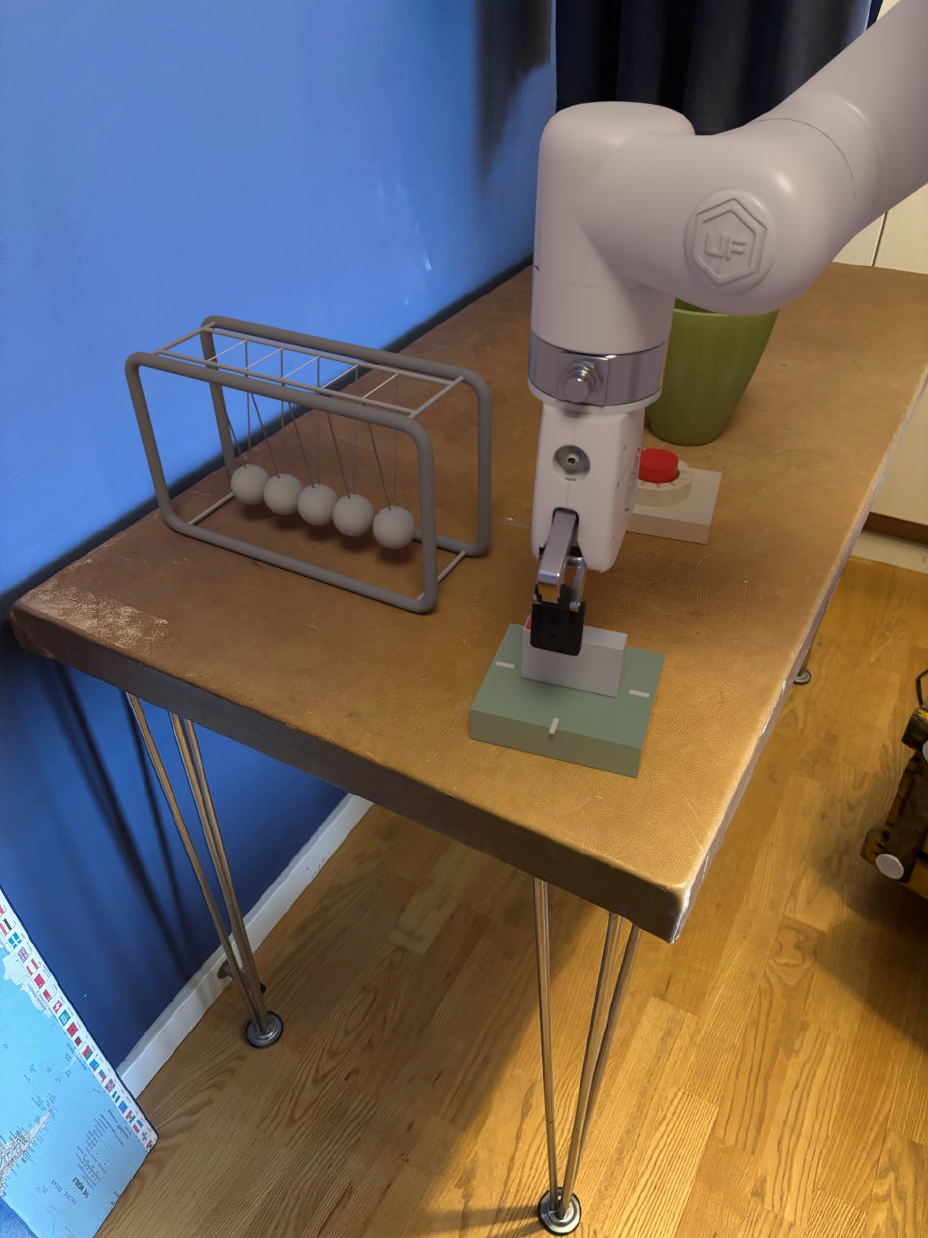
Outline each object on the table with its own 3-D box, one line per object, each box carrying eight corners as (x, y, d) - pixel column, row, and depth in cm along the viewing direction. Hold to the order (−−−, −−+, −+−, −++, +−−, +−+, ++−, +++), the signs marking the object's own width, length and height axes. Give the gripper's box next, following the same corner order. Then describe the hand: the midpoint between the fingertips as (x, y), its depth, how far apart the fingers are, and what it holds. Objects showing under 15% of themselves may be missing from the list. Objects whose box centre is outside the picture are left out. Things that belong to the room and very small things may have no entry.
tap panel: (662, 678, 70) (667, 646, 68) (635, 785, 61) (640, 752, 59) (511, 647, 73) (512, 616, 71) (467, 744, 64) (466, 712, 63)
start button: (679, 467, 88) (681, 451, 87) (672, 488, 85) (675, 471, 84) (637, 461, 89) (639, 445, 88) (630, 481, 86) (632, 465, 85)
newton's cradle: (492, 558, 82) (494, 371, 71) (434, 622, 75) (426, 426, 64) (233, 480, 94) (200, 309, 83) (162, 529, 87) (115, 349, 76)
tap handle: (621, 681, 65) (628, 630, 62) (616, 698, 64) (623, 646, 61) (527, 661, 67) (529, 611, 64) (520, 677, 65) (522, 626, 62)
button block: (718, 491, 91) (725, 455, 89) (706, 545, 84) (713, 507, 81) (600, 473, 94) (603, 438, 92) (578, 523, 87) (581, 486, 84)
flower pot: (757, 470, 94) (790, 318, 84) (612, 457, 97) (628, 308, 87) (751, 407, 106) (779, 266, 96) (622, 397, 108) (636, 259, 98)
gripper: (635, 442, 43) (601, 702, 54) (686, 313, 56) (650, 545, 67) (484, 418, 45) (480, 674, 56) (567, 299, 58) (550, 527, 68)
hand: (573, 604), depth 61 cm, fingers open, 9 cm apart
